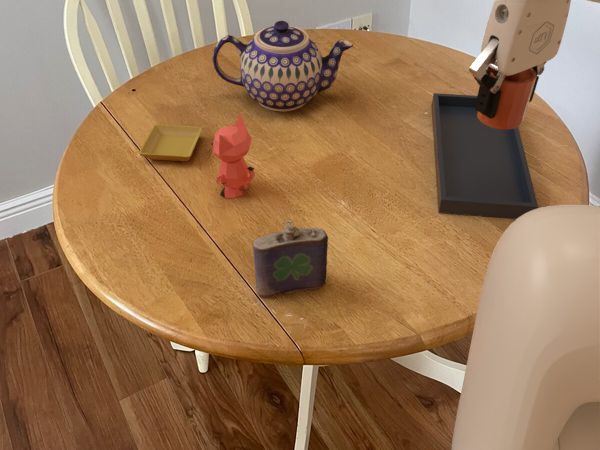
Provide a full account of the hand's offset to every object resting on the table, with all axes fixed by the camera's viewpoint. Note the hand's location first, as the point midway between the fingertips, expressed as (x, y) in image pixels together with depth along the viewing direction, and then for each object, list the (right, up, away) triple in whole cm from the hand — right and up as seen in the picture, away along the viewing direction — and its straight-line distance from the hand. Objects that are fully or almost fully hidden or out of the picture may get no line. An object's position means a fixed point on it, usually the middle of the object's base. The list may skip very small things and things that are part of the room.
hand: (503, 104), depth 80 cm
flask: (-29, -24, -4) cm, 38 cm away
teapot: (-31, +7, +30) cm, 44 cm away
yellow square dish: (-49, -4, +18) cm, 52 cm away
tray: (+1, -5, +16) cm, 17 cm away
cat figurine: (-37, -11, +11) cm, 40 cm away
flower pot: (0, -1, +1) cm, 2 cm away
